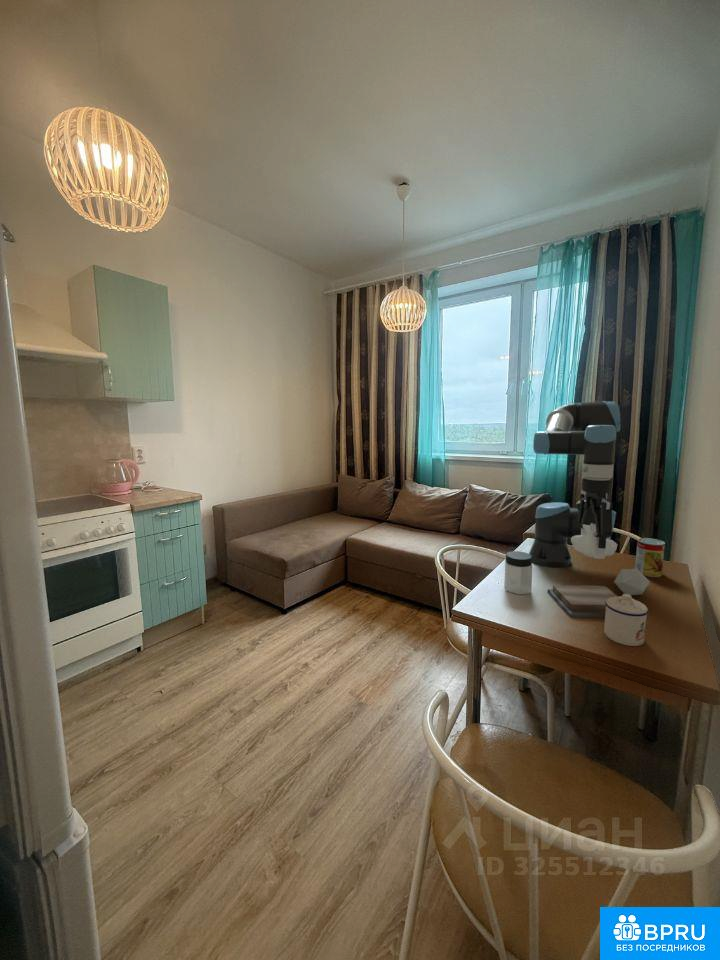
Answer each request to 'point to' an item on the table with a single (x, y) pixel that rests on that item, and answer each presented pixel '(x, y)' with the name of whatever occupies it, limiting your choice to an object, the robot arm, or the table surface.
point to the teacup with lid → (625, 620)
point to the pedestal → (582, 599)
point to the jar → (518, 572)
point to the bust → (591, 542)
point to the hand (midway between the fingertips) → (591, 553)
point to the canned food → (650, 556)
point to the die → (631, 581)
